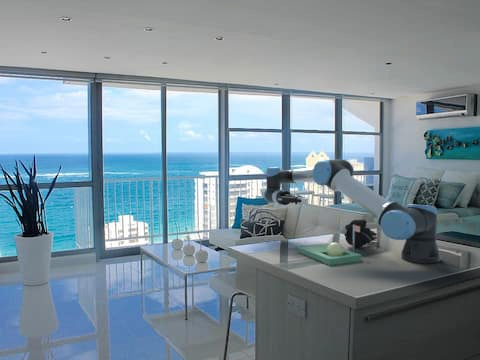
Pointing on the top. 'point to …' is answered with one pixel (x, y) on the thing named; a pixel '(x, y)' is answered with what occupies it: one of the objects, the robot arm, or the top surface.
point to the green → (321, 255)
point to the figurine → (359, 233)
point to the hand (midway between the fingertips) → (306, 201)
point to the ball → (335, 249)
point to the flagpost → (355, 228)
